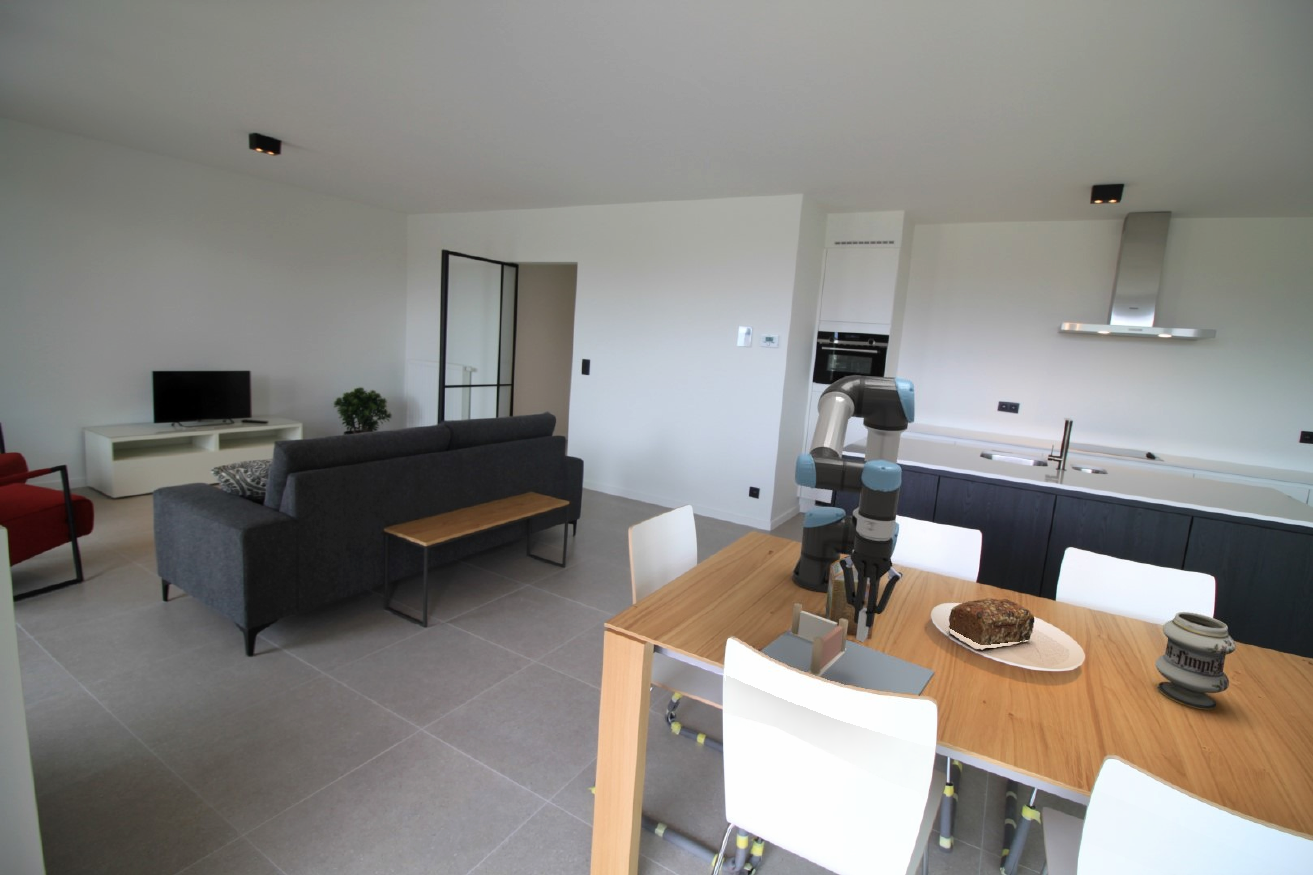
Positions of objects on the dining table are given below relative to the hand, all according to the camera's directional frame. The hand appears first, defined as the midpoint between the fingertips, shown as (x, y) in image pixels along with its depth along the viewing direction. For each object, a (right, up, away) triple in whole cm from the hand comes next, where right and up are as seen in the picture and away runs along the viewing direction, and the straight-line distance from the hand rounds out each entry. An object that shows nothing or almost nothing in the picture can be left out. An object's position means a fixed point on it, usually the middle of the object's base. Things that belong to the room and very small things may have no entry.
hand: (861, 638), depth 130 cm
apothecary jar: (+72, -14, +2) cm, 73 cm away
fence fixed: (-6, -6, +15) cm, 17 cm away
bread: (+41, -8, +24) cm, 48 cm away
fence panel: (-6, -7, +5) cm, 11 cm away
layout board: (-2, -8, +6) cm, 10 cm away
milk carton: (+5, -6, +26) cm, 27 cm away
